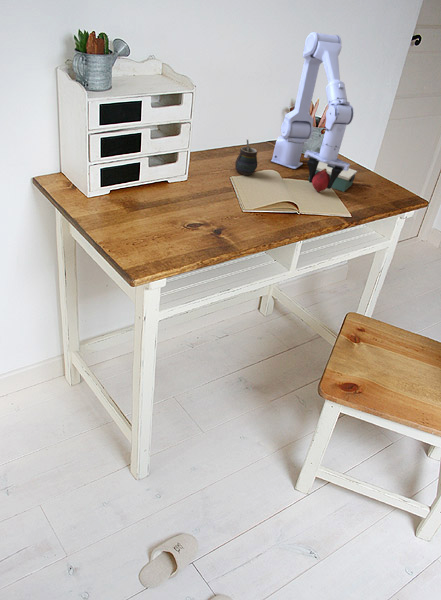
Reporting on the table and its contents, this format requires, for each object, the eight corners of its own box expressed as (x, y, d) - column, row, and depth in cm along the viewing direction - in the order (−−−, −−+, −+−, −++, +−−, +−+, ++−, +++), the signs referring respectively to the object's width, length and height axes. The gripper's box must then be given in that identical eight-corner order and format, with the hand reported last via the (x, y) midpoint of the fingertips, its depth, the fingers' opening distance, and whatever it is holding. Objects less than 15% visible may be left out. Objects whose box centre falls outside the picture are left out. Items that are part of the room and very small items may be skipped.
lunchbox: (305, 179, 189) (310, 163, 186) (315, 172, 196) (319, 157, 193) (345, 192, 184) (350, 177, 181) (354, 185, 192) (358, 169, 189)
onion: (321, 197, 178) (328, 173, 173) (306, 190, 180) (312, 167, 176) (329, 193, 182) (336, 169, 177) (314, 186, 184) (321, 163, 180)
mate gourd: (238, 177, 180) (244, 147, 175) (229, 168, 186) (235, 138, 180) (258, 177, 183) (264, 147, 178) (249, 168, 189) (255, 139, 183)
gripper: (305, 139, 172) (295, 180, 179) (349, 153, 167) (337, 195, 174) (313, 135, 177) (303, 175, 184) (356, 148, 172) (343, 189, 180)
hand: (320, 184), depth 180 cm, fingers closed on onion, 6 cm apart
